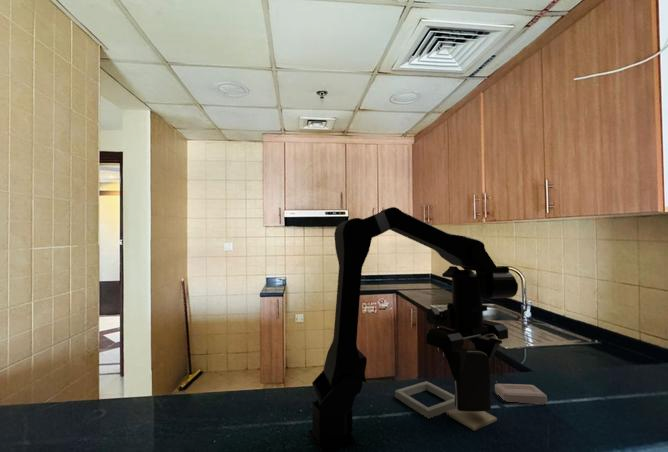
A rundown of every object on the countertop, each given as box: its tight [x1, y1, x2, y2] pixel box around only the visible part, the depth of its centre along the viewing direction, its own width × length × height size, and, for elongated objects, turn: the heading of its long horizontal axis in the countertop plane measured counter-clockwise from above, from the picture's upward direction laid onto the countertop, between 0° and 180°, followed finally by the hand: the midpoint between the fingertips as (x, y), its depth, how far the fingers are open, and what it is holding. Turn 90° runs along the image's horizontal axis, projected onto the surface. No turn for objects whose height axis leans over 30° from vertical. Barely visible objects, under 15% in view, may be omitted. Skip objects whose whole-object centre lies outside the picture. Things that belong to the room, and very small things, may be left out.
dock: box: [394, 380, 456, 420], centre depth 66 cm, size 10×10×2 cm
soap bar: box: [494, 383, 548, 405], centre depth 68 cm, size 5×9×2 cm, turn 85°
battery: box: [453, 348, 492, 412], centre depth 61 cm, size 7×4×11 cm, turn 91°
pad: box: [445, 408, 498, 431], centre depth 60 cm, size 7×6×1 cm
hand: (469, 376), depth 61 cm, fingers closed on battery, 7 cm apart
